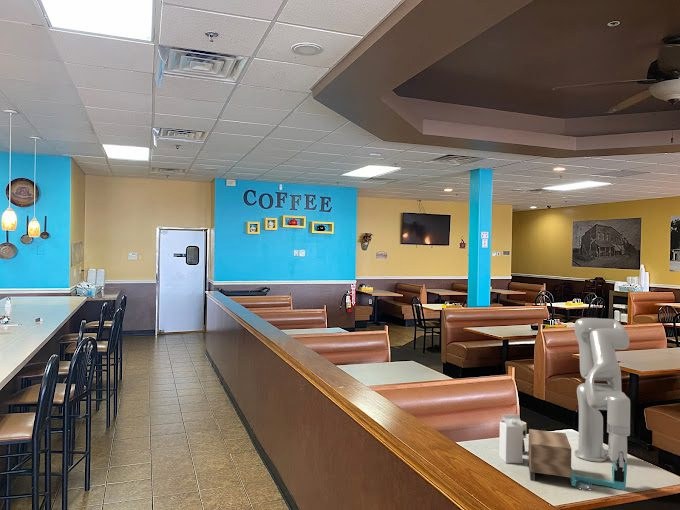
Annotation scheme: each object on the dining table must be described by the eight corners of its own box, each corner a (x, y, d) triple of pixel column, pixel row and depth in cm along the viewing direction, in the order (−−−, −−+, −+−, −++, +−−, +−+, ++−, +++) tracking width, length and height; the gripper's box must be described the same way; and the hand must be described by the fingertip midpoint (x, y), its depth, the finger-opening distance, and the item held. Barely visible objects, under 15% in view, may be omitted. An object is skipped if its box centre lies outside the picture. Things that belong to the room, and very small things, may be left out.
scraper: (620, 481, 197) (622, 455, 197) (628, 496, 184) (630, 468, 184) (567, 471, 203) (569, 446, 203) (571, 485, 190) (573, 457, 190)
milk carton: (499, 457, 220) (499, 412, 221) (515, 457, 221) (515, 412, 221) (505, 463, 213) (506, 416, 214) (522, 463, 214) (523, 416, 214)
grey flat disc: (571, 483, 194) (571, 480, 194) (587, 484, 194) (587, 480, 194) (579, 490, 188) (579, 487, 188) (595, 490, 188) (595, 487, 188)
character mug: (525, 457, 221) (525, 426, 221) (507, 454, 224) (508, 424, 224) (526, 449, 231) (527, 420, 232) (510, 447, 234) (510, 418, 234)
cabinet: (565, 468, 209) (565, 433, 210) (570, 487, 190) (571, 448, 191) (528, 463, 214) (528, 429, 214) (530, 481, 195) (531, 443, 195)
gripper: (603, 422, 201) (603, 470, 200) (611, 434, 185) (610, 486, 185) (625, 424, 198) (624, 473, 198) (634, 436, 183) (634, 489, 182)
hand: (618, 479), depth 191 cm, fingers closed on scraper, 2 cm apart
